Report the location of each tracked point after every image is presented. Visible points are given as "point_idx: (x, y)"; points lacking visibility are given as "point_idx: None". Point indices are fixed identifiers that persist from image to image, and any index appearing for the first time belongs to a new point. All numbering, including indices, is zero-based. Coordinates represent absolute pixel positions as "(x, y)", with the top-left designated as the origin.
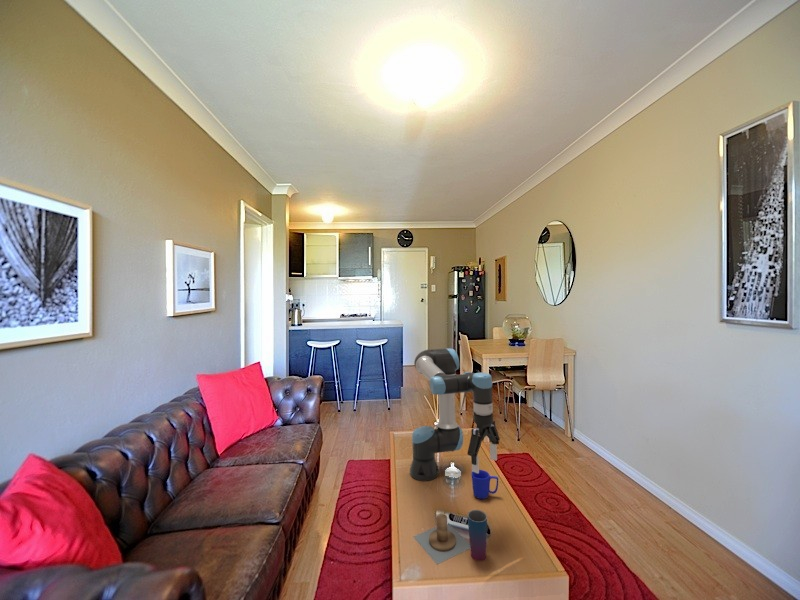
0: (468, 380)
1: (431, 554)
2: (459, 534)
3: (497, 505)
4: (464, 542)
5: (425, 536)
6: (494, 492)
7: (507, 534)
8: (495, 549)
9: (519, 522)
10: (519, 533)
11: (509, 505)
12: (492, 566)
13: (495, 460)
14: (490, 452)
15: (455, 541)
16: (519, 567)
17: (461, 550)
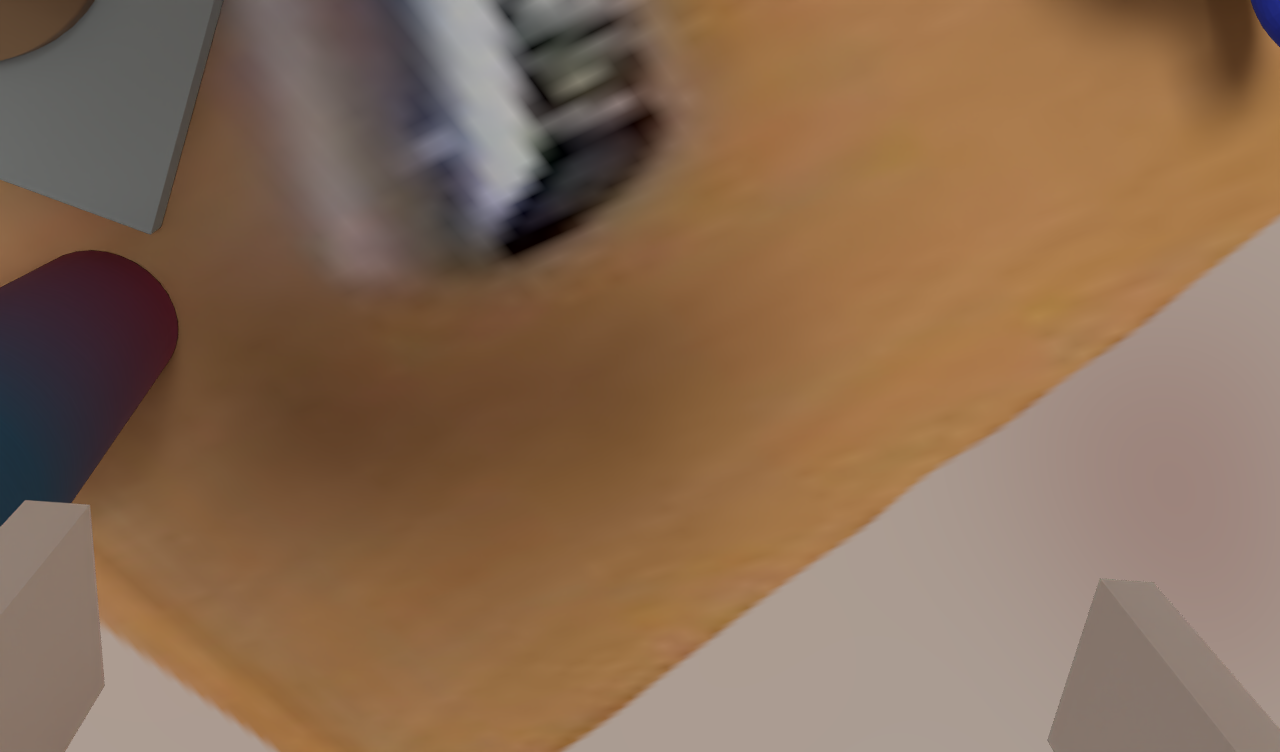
0: None
1: None
2: (207, 3)
3: (1063, 120)
4: (137, 122)
5: None
6: (1266, 21)
7: (612, 408)
8: (329, 399)
9: (869, 435)
10: (698, 491)
11: (1129, 241)
12: (112, 462)
13: (1054, 727)
14: (1203, 727)
15: (12, 56)
16: (276, 629)
17: (4, 157)
